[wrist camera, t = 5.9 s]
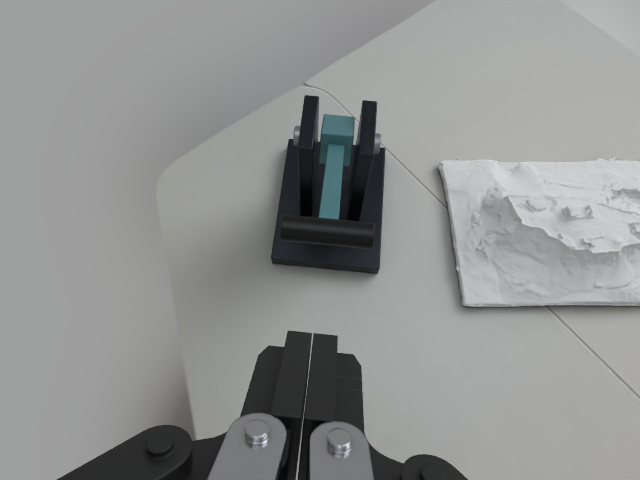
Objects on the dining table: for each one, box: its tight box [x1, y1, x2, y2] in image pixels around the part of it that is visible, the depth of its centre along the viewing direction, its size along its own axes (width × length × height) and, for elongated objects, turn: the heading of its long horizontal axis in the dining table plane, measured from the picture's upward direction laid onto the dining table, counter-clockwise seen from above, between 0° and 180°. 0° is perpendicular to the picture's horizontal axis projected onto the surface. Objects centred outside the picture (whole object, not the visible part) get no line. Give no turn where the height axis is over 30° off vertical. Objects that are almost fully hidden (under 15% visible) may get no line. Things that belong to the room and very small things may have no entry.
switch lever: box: [280, 114, 375, 249], centre depth 29 cm, size 12×5×2 cm, turn 174°
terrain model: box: [438, 157, 640, 307], centre depth 40 cm, size 17×23×5 cm
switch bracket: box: [271, 95, 385, 274], centre depth 37 cm, size 12×9×12 cm
